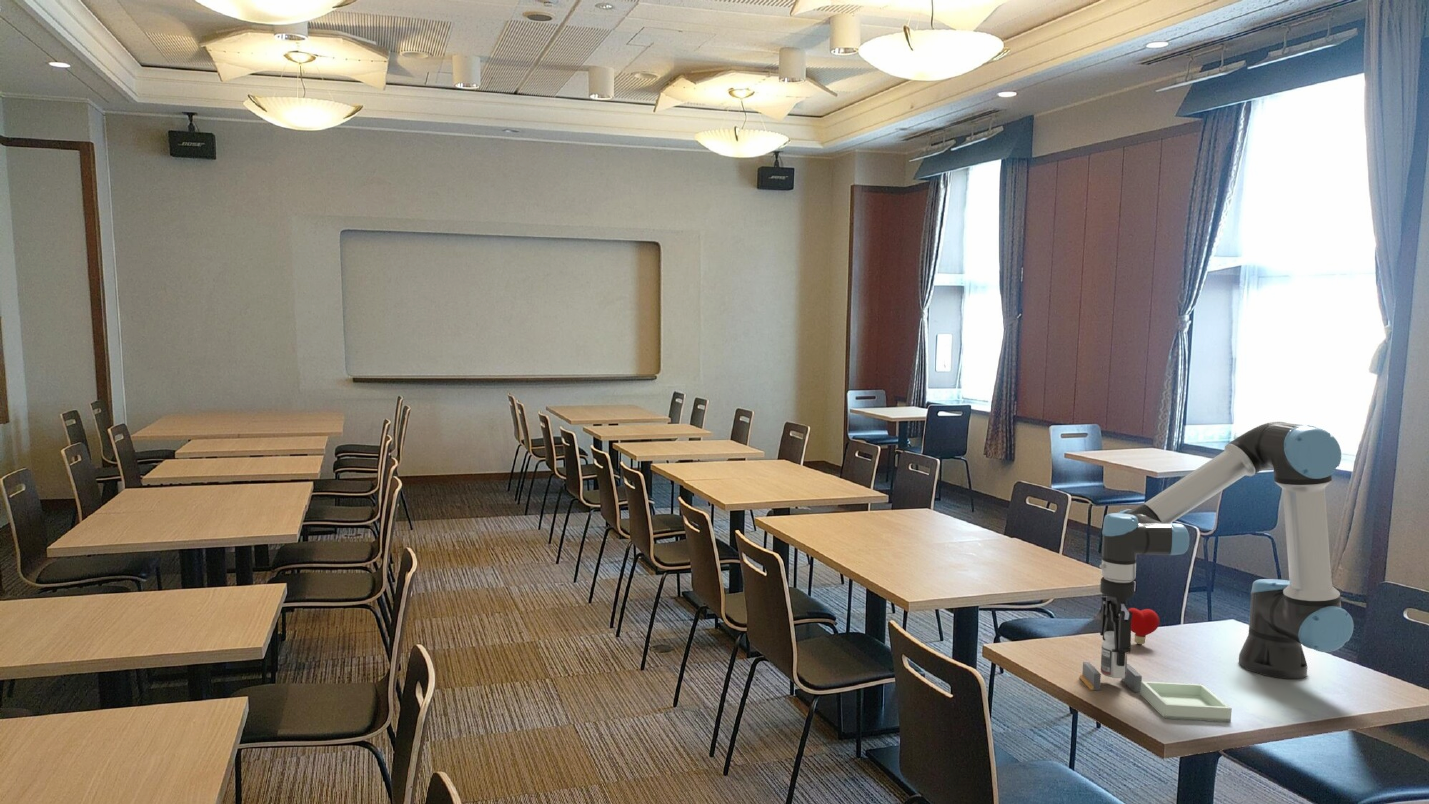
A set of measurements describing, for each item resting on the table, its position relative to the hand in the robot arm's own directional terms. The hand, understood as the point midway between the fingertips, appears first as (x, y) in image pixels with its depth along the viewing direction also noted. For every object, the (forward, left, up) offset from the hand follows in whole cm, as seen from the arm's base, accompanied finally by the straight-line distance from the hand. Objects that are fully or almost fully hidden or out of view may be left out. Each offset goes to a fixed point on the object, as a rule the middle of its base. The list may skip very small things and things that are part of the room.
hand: (1113, 672), depth 223 cm
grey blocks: (0, 0, -3) cm, 3 cm away
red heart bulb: (-19, -32, -3) cm, 37 cm away
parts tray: (-12, +12, -3) cm, 17 cm away
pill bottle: (0, 0, -1) cm, 1 cm away
